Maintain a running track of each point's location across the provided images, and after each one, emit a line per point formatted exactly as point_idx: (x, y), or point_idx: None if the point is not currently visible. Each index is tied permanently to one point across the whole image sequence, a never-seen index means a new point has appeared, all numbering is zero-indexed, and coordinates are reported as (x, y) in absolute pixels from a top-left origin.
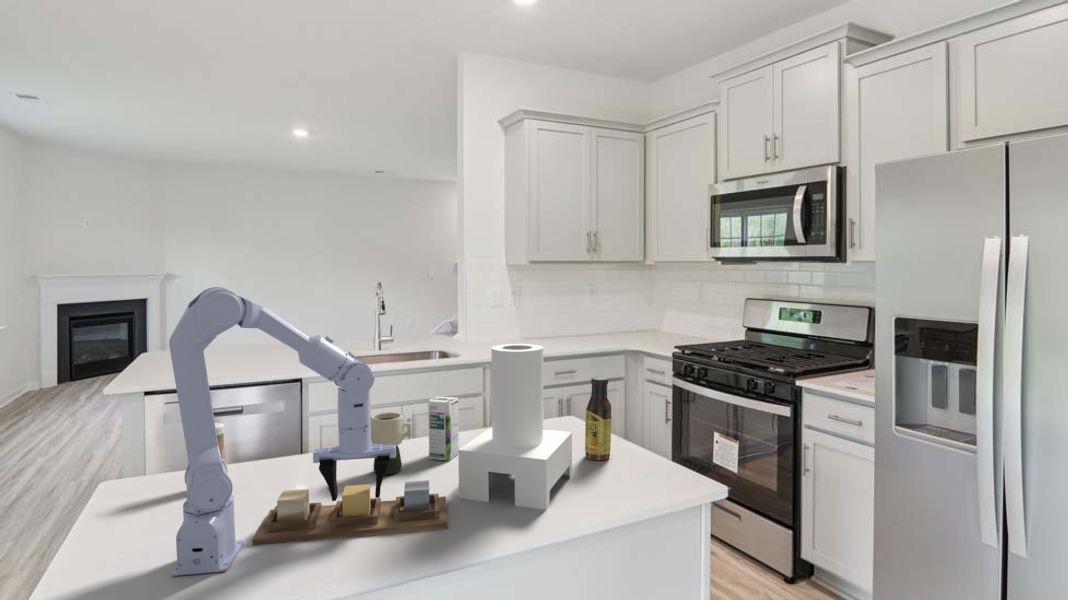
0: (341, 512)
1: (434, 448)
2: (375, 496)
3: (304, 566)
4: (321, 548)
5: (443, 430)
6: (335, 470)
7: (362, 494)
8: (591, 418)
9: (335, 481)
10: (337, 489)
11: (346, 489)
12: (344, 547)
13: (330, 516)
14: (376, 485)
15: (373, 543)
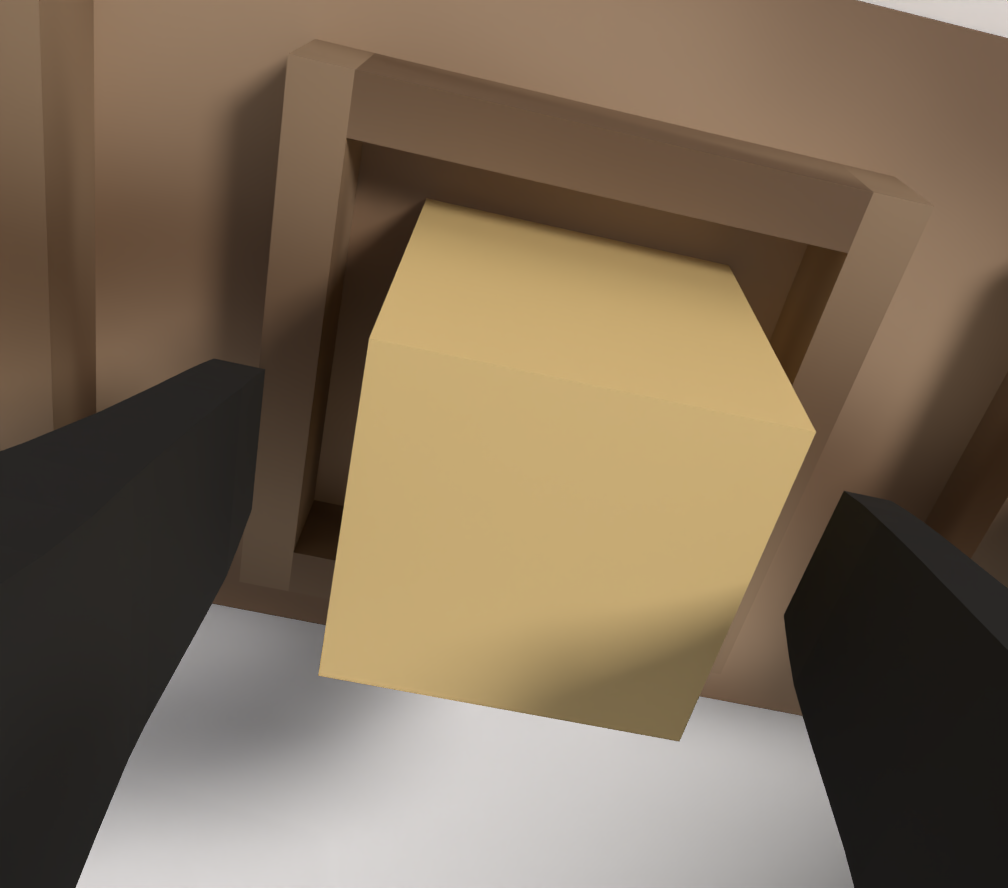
0: (370, 193)
1: None
2: (786, 635)
3: (140, 840)
4: (223, 690)
5: None
6: (41, 704)
7: (605, 719)
8: None
9: (146, 580)
10: (234, 393)
11: (387, 492)
12: (394, 733)
13: (239, 259)
14: (841, 802)
15: (610, 756)
